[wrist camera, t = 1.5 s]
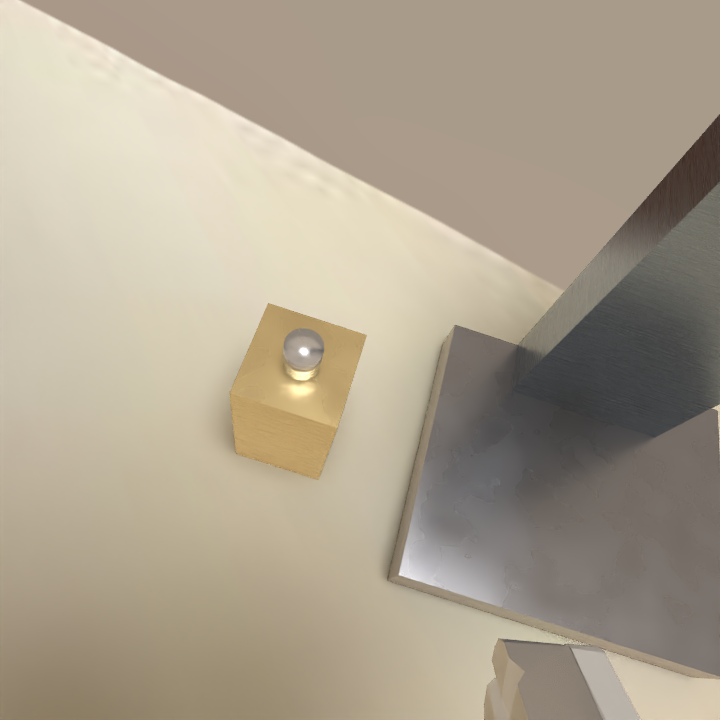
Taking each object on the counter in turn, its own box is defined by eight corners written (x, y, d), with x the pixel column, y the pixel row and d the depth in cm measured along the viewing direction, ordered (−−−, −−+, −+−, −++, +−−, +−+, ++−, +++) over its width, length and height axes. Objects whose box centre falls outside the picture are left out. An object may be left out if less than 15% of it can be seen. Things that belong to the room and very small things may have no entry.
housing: (236, 453, 29) (227, 377, 21) (265, 379, 31) (268, 283, 23) (318, 479, 29) (342, 414, 21) (342, 404, 31) (373, 317, 23)
